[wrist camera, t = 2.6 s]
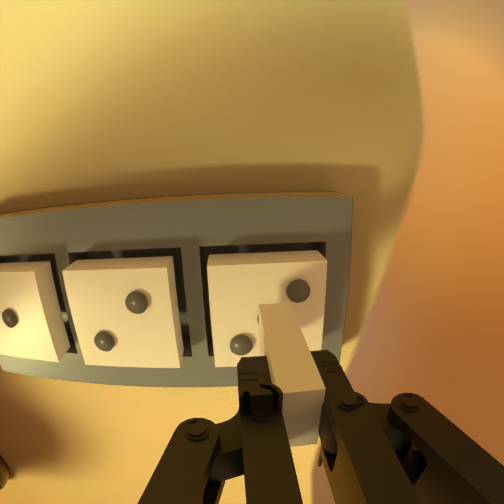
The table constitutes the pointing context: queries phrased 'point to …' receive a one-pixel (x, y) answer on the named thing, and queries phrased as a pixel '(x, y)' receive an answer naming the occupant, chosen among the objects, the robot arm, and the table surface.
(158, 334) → the key two
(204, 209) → the keypad
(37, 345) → the key one
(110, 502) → the table surface
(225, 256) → the key three
